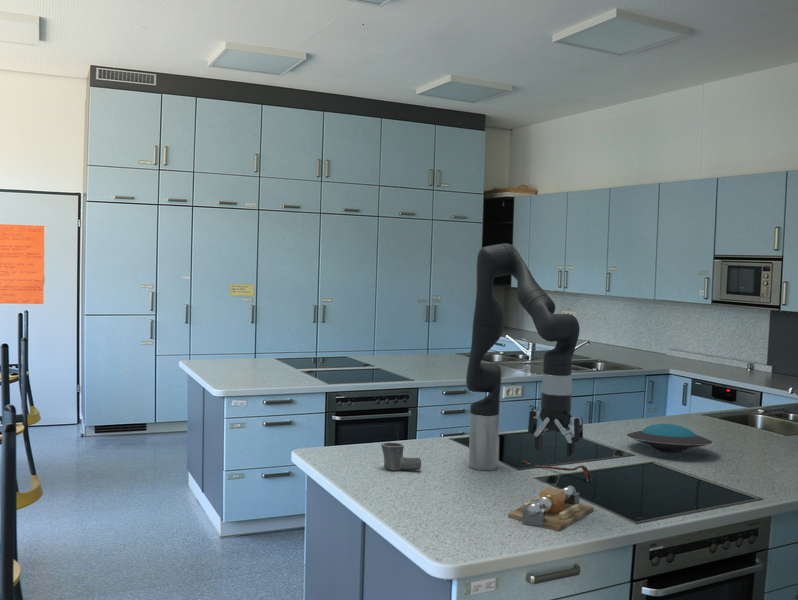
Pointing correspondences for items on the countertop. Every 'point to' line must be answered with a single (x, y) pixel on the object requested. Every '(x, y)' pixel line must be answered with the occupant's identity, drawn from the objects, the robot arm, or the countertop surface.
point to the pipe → (398, 458)
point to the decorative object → (669, 438)
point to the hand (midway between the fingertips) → (554, 453)
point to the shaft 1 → (534, 514)
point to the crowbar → (568, 469)
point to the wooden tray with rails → (557, 515)
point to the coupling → (552, 500)
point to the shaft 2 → (571, 495)
